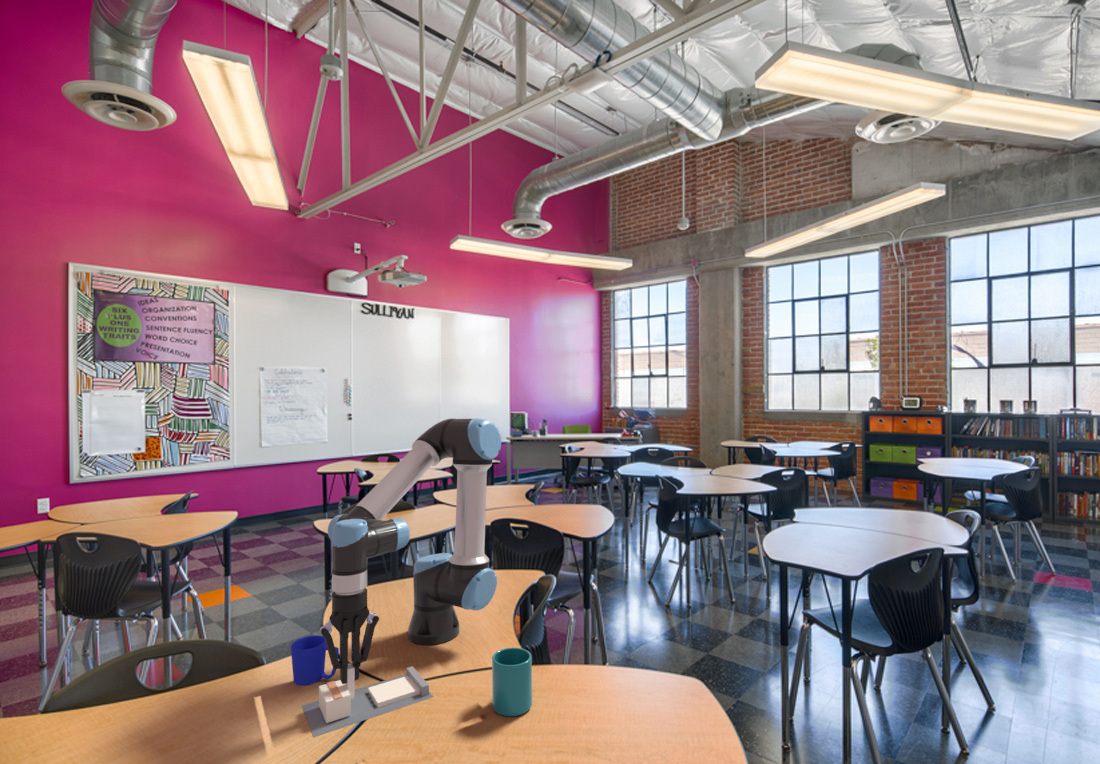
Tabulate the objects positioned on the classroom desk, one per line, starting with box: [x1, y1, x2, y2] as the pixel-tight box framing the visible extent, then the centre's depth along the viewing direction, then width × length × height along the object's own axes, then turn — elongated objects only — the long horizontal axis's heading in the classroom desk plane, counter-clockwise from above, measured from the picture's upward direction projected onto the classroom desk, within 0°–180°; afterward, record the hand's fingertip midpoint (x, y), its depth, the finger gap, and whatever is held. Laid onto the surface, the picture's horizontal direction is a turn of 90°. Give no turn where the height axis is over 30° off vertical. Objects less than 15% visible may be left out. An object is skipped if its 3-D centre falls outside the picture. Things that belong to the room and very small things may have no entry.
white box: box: [318, 679, 351, 723], centre depth 119 cm, size 5×8×5 cm, turn 34°
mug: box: [290, 635, 340, 686], centre depth 134 cm, size 8×12×10 cm
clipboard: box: [301, 665, 434, 738], centre depth 123 cm, size 26×14×3 cm, turn 124°
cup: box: [491, 647, 533, 717], centre depth 124 cm, size 9×12×11 cm
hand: (349, 695), depth 121 cm, fingers closed
